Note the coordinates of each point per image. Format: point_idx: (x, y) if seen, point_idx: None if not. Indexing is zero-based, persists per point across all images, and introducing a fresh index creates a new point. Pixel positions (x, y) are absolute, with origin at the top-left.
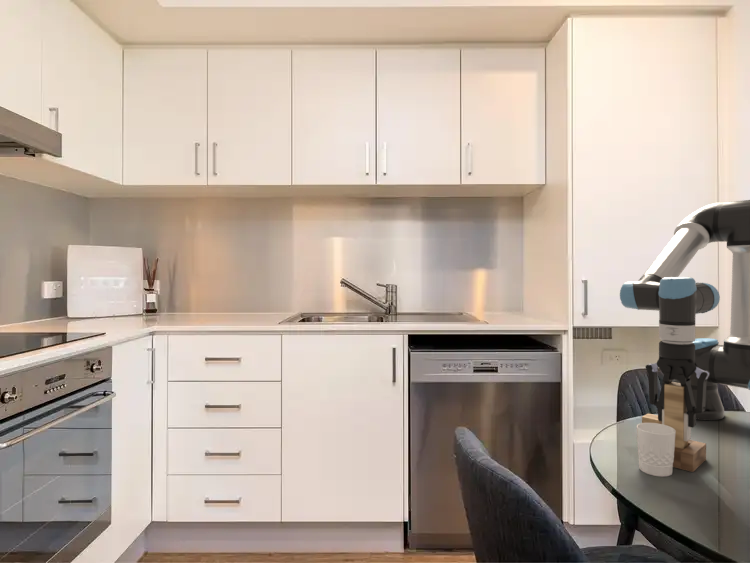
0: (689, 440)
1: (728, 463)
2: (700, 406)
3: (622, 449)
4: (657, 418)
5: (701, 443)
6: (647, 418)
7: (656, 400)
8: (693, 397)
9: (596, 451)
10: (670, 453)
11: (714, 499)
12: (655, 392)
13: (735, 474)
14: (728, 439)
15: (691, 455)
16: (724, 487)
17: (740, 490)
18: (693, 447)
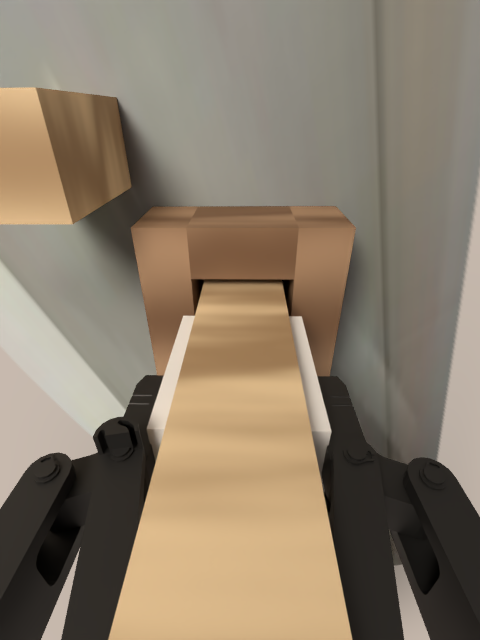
0: (278, 242)
1: (421, 181)
2: (435, 568)
3: (69, 317)
4: (42, 183)
5: (335, 244)
6: (2, 221)
7: (83, 518)
8: (395, 582)
9: (38, 382)
10: None
11: (381, 455)
12: (38, 608)
13: (438, 283)
14: None
15: None
16: (402, 392)
17: (441, 385)
18: (313, 322)
